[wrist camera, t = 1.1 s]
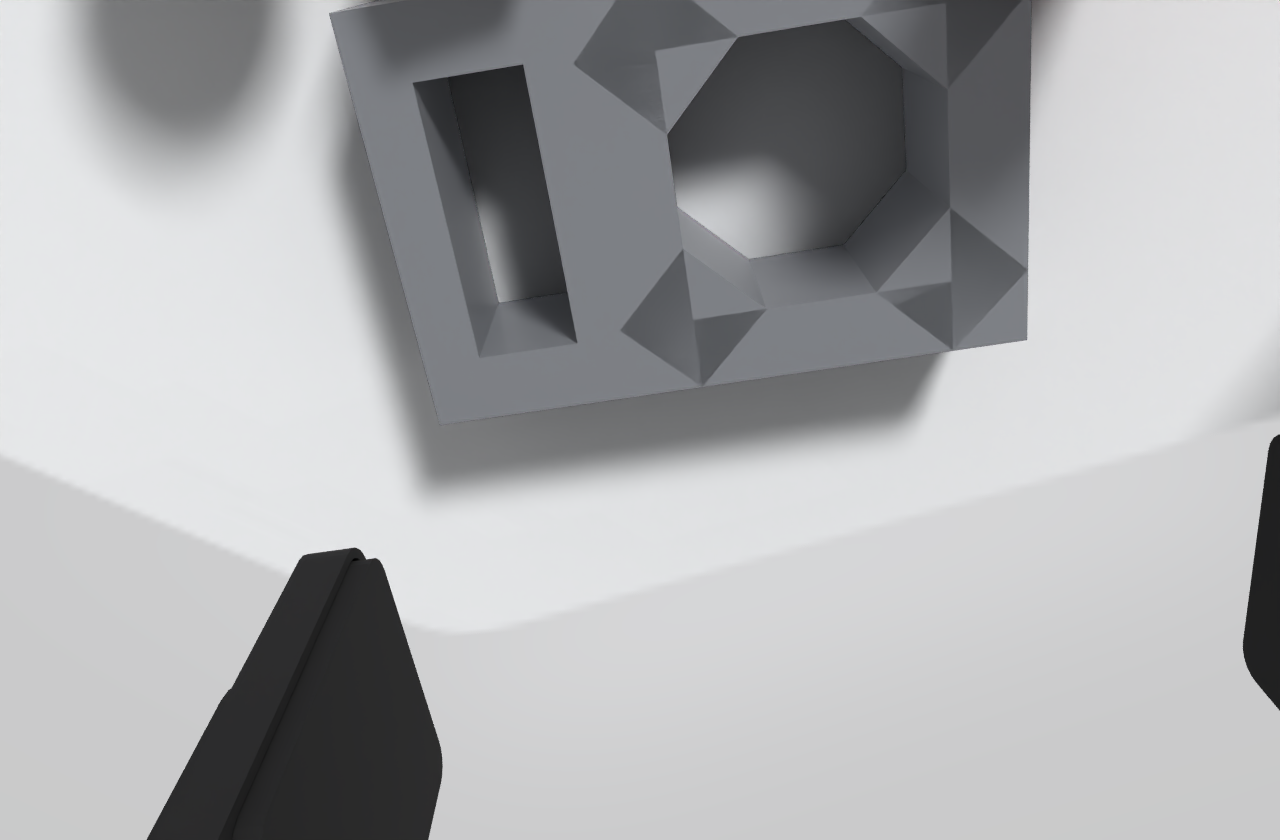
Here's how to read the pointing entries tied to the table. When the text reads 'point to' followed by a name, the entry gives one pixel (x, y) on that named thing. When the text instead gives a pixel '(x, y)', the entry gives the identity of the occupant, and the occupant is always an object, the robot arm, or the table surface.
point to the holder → (647, 209)
